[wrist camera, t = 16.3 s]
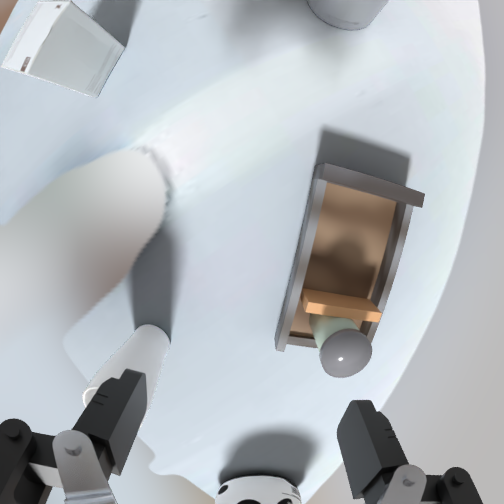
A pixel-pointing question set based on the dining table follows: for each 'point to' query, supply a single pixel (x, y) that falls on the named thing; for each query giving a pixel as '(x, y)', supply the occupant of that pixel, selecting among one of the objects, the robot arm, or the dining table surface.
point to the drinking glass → (135, 361)
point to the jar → (340, 345)
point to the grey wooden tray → (346, 246)
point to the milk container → (258, 491)
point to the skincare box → (64, 48)
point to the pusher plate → (339, 305)
